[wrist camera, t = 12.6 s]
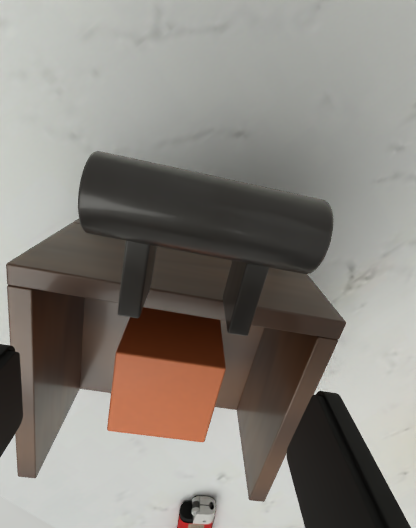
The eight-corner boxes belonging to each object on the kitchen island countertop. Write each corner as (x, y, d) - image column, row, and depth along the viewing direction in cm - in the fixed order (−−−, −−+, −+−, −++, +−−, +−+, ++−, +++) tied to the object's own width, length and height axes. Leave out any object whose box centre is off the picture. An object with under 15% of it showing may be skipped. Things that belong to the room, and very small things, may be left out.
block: (129, 362, 17) (106, 431, 13) (138, 296, 16) (115, 352, 11) (203, 373, 18) (204, 443, 14) (219, 310, 16) (226, 368, 12)
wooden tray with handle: (82, 130, 13) (-113, 110, 5) (322, 184, 14) (486, 238, 6) (71, 377, 19) (-30, 562, 10) (246, 401, 20) (279, 585, 12)
